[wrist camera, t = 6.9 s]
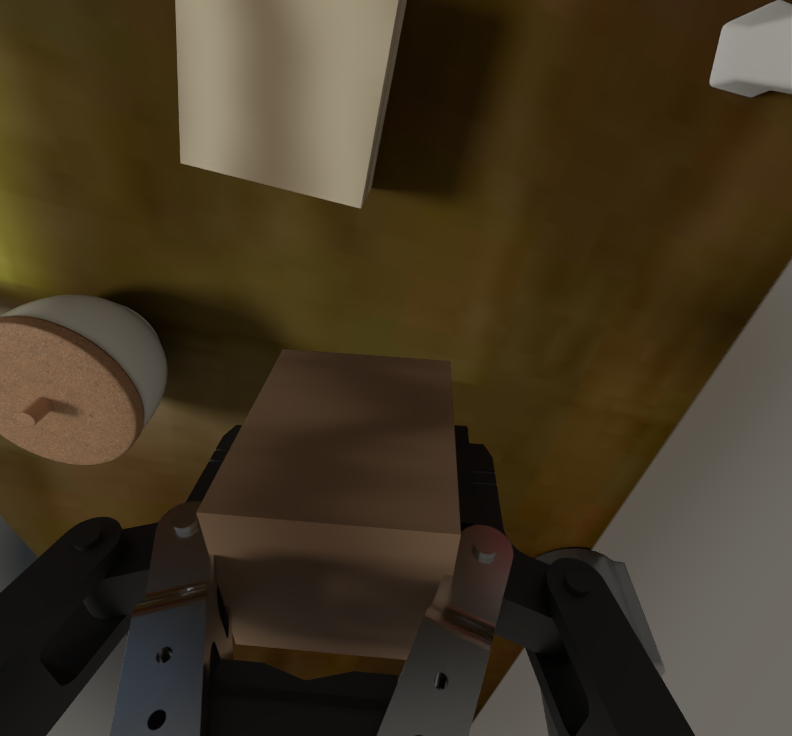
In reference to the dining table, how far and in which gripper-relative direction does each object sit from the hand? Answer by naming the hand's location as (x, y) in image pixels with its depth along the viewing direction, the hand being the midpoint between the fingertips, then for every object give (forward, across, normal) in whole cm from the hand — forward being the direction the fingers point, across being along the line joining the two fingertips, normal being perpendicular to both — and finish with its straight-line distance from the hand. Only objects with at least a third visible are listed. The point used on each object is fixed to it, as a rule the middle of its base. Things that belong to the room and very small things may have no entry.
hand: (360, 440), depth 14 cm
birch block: (+18, +5, -9) cm, 21 cm away
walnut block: (+1, 0, 0) cm, 1 cm away
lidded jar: (+18, +20, +8) cm, 28 cm away
